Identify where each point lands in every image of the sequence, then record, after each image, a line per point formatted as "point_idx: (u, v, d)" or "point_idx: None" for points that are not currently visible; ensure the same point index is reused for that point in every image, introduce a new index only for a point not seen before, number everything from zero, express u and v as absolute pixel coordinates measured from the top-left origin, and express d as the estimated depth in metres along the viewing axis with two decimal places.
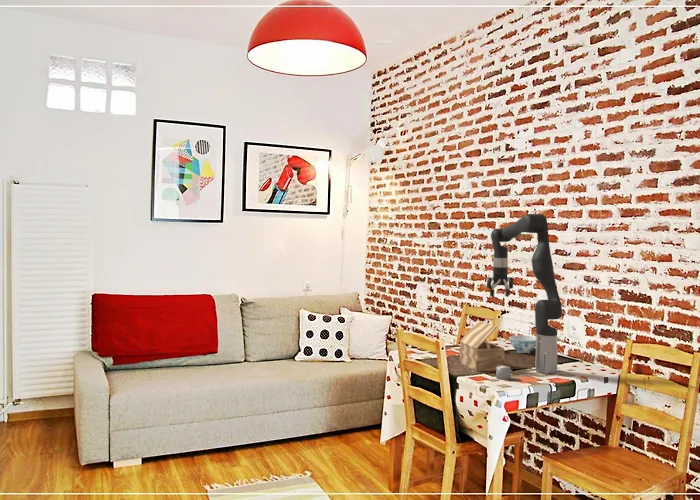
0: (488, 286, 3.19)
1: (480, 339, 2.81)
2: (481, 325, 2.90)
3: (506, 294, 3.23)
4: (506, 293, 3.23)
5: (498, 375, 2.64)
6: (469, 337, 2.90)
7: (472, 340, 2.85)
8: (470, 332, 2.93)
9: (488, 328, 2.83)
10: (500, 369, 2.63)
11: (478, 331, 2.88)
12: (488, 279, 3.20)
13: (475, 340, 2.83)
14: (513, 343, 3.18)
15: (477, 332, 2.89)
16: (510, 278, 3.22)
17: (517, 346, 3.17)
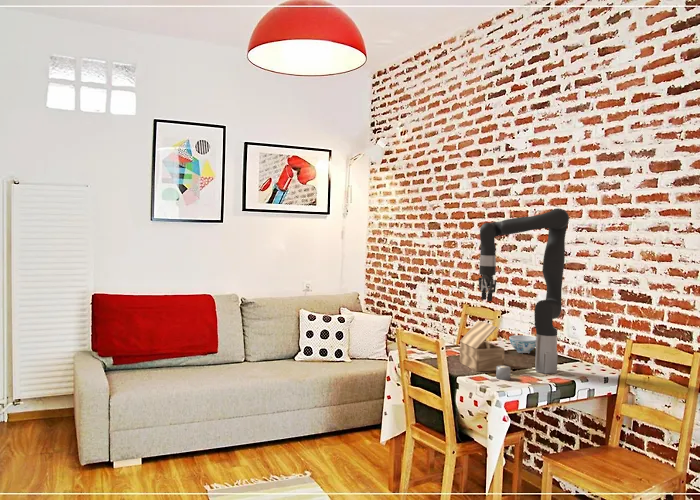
0: (494, 290, 2.82)
1: (480, 339, 2.81)
2: (481, 325, 2.90)
3: (484, 297, 2.90)
4: (484, 295, 2.90)
5: (498, 375, 2.64)
6: (469, 337, 2.90)
7: (472, 340, 2.85)
8: (470, 332, 2.93)
9: (488, 328, 2.83)
10: (500, 369, 2.63)
11: (478, 331, 2.88)
12: (494, 283, 2.81)
13: (475, 340, 2.83)
14: (513, 343, 3.18)
15: (477, 332, 2.89)
16: None
17: (517, 346, 3.17)
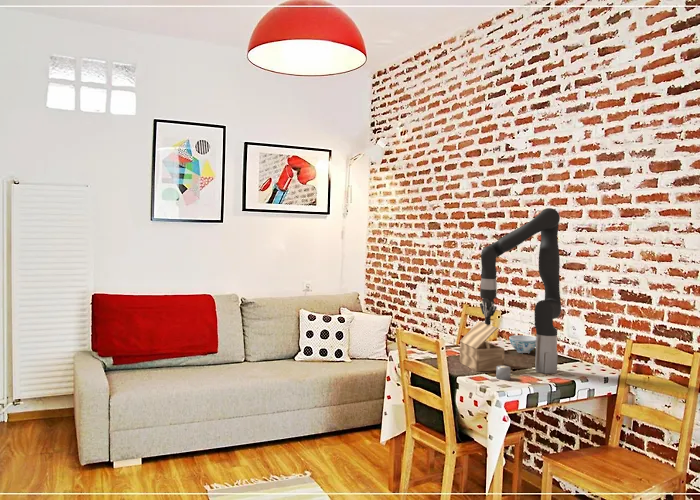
0: (492, 313, 2.85)
1: (480, 339, 2.81)
2: (482, 326, 2.91)
3: None
4: None
5: (498, 375, 2.64)
6: (469, 337, 2.90)
7: (472, 340, 2.86)
8: (470, 333, 2.93)
9: (489, 329, 2.83)
10: (500, 369, 2.63)
11: (479, 332, 2.88)
12: (493, 309, 2.82)
13: (475, 341, 2.83)
14: (513, 343, 3.18)
15: (477, 332, 2.89)
16: None
17: (517, 346, 3.17)
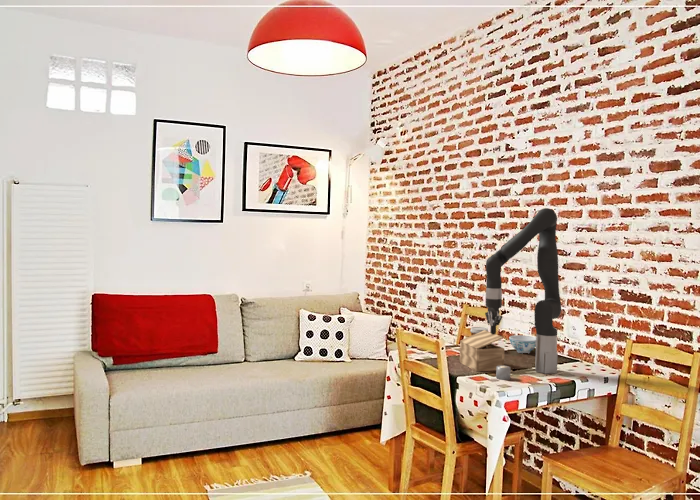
0: (497, 323, 2.86)
1: (483, 342, 2.81)
2: (486, 333, 2.91)
3: None
4: None
5: (498, 375, 2.64)
6: (471, 339, 2.90)
7: (474, 342, 2.86)
8: (473, 337, 2.93)
9: (493, 336, 2.84)
10: (500, 369, 2.63)
11: (482, 337, 2.88)
12: (499, 318, 2.83)
13: (477, 343, 2.83)
14: (513, 343, 3.18)
15: (480, 337, 2.89)
16: None
17: (517, 346, 3.17)
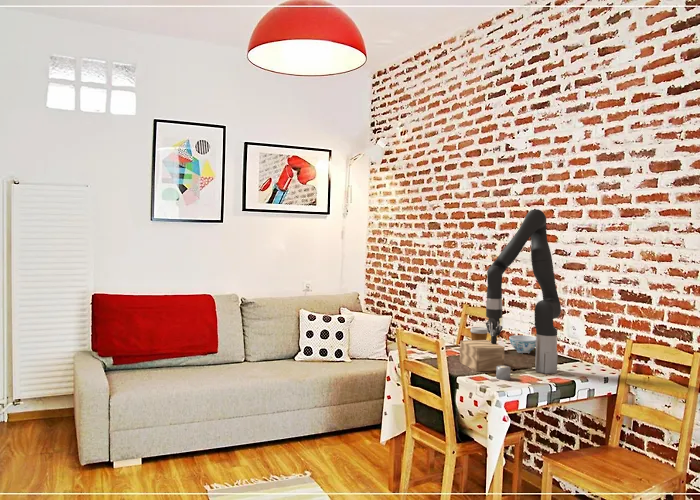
0: (498, 333, 2.86)
1: (484, 346, 2.81)
2: (488, 342, 2.92)
3: None
4: None
5: (498, 375, 2.64)
6: (472, 342, 2.90)
7: (475, 344, 2.86)
8: (474, 341, 2.94)
9: (495, 345, 2.85)
10: (500, 369, 2.63)
11: (483, 343, 2.89)
12: (499, 329, 2.83)
13: (478, 345, 2.84)
14: (513, 343, 3.18)
15: (482, 343, 2.89)
16: None
17: (517, 346, 3.17)
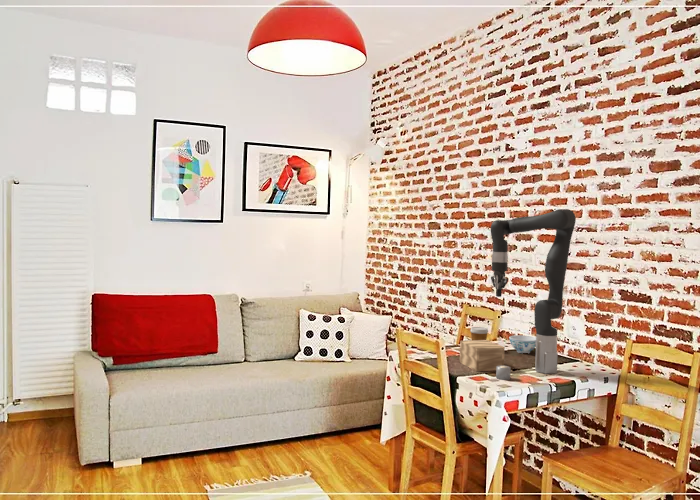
0: (503, 286, 2.92)
1: (484, 346, 2.81)
2: (488, 342, 2.92)
3: None
4: None
5: (498, 375, 2.64)
6: (472, 342, 2.90)
7: (475, 344, 2.86)
8: (474, 341, 2.94)
9: (495, 345, 2.85)
10: (500, 369, 2.63)
11: (483, 343, 2.89)
12: (505, 281, 2.89)
13: (478, 345, 2.84)
14: (513, 343, 3.18)
15: (482, 343, 2.89)
16: None
17: (517, 346, 3.17)
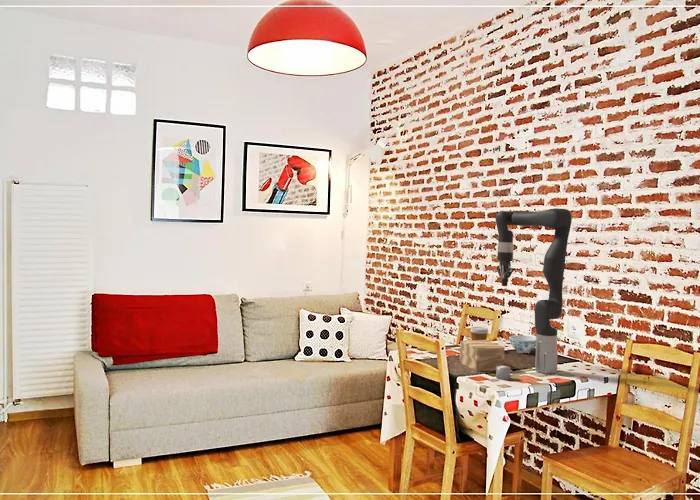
0: (509, 275, 2.98)
1: (484, 346, 2.81)
2: (488, 342, 2.92)
3: None
4: None
5: (498, 375, 2.64)
6: (472, 342, 2.90)
7: (475, 344, 2.86)
8: (474, 341, 2.94)
9: (495, 345, 2.85)
10: (500, 369, 2.63)
11: (483, 343, 2.89)
12: (510, 271, 2.96)
13: (478, 345, 2.84)
14: (513, 343, 3.18)
15: (482, 343, 2.89)
16: None
17: (517, 346, 3.17)
